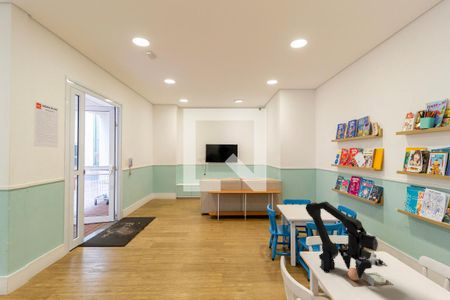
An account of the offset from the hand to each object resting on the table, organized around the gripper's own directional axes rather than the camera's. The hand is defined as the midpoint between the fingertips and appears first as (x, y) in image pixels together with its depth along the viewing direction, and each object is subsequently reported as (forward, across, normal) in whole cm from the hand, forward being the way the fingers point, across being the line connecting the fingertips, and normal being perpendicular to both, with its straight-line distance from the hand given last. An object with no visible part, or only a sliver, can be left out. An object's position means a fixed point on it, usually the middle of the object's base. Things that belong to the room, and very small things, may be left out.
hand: (353, 273), depth 120 cm
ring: (+3, 0, -12) cm, 13 cm away
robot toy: (+5, +21, -25) cm, 33 cm away
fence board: (+4, 0, -7) cm, 8 cm away
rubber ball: (0, 0, 0) cm, 0 cm away
